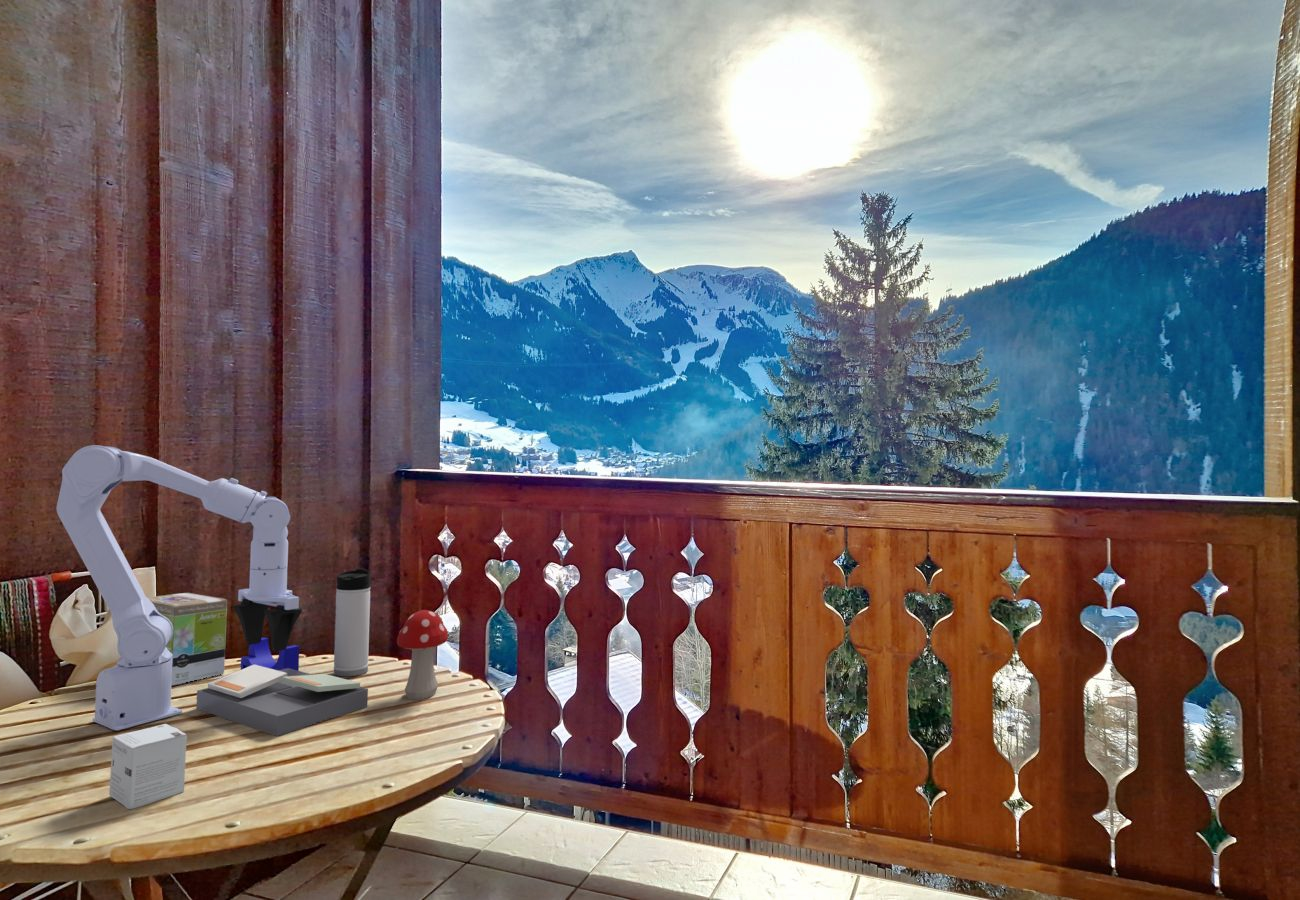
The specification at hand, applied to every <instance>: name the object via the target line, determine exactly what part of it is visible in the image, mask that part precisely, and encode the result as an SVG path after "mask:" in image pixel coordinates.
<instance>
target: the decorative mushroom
mask: <svg viewBox="0 0 1300 900" xmlns="http://www.w3.org/2000/svg"><path fill="white" fill-rule="evenodd" d="M400 629H401V628H400ZM448 639H449V631H448V629H447V627H446V626H445V624H444V623H443V621H442V619H441V617H440V616H439V615H438V613H435V612H434V611H433V610H428V609H422V610H419V611H416V612H414V613H412V614H411V615H410V616H409V617H408V619H407V620H406V621H405V623H404V625H403V627H402V629H401V630H400V631H399V632H398V634H397V637H396V645H397V646H398V647H400V648H403V649H406V650H411V651H412V652H411V661H410V669H409V675H408V681H407V682H406V685H405V688H404V692H405V695H406V698H407V699H408V698H409V700H412V699H413V701H414V699H420V700H424V698H425V699H428V697H429V698H431V697H433V696H435V695H436V693H437V690H438V686H439V683H438V679H437V678H436V673H435V667H434V666H435V665H434V648H437V647H438V646H441V645H443V644H445V643H447V642H448Z"/></svg>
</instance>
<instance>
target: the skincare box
mask: <svg viewBox="0 0 1300 900" xmlns="http://www.w3.org/2000/svg"><path fill="white" fill-rule="evenodd" d="M187 736H188V735H187V734H186V733H185V732H183V731H181V730H180V729H179V728H177V727H175V726H171V725H169V724H167V723H163V724H159V725H155V726H150V727H147V728H143V729H139V730H134V731H130V732H126V733H122V734H118V735H114V736H112V738H111V739H112V743H111V761H110V775H109V777H110V778H109V797H110V798H112V799H115V801H117V802H118V803H119V804H121V805H123V806H124V807H125V809H127V810H134V809H136V808H140V807H142V806H146V805H149V804H151V803H155V802H157V801H161V800H163V799H167V798H169V797H173V796H175V795H179V794H182V793H184V792H185V774H186V760H187V759H186V756H187V755H186V754H187V738H188V737H187Z"/></svg>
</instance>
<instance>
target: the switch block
mask: <svg viewBox="0 0 1300 900" xmlns="http://www.w3.org/2000/svg"><path fill="white" fill-rule="evenodd" d="M278 671H281V672H285V673H287V676H302V675H314V674H311V673H308V672H306V671H305V672H304V671H302V670H301V671H300V670H299V671H297V670H293V669H289V668H286V669H282V670H278ZM281 681H282V680H281ZM281 681H279V682H277V683H274V684H272V685H270V686H268V687H265V688H263V689H261V690H259V691H256V692H254V693H252V694H250V695H247V696H245V697H243V698H238V697H235V696H232V695H229V694H226V693H222V692H219V691H216V690H213V689H209V688H208V687H206V688H202V689H197V690H196V704H195V705H196V707H195V708H196V710H199V711H201V712H202V711H203V712H205V713H208V714H211V715H212V716H216V717H220V718H222V719H225V720H229V721H231V722H235V723H237V724H239V725H240V724H241V725H243V726H246V727H249V728H252V729H255V730H257V731H260V732H264V733H267V734H269V735H271V736H272V735H273V736H275V737H280V736H282V734H283V735H286V734H289V733H292V732H295V731H298V730H300V728H301V729H304V728H307V727H309V725H310V726H313V725H315V724H314V723H316V724H318V723H317V722H319V723H321V722H320V721H322V722H324V721H323V720H325V721H327V720H326V719H328V720H330V719H329V718H331V719H334V718H337V717H340V716H343V715H346V714H349V713H352V712H355V711H359V710H361V709H365V708H367V707H368V705H369V704H368V703H369V702H368V700H369V698H368V697H369V696H368V695H369V689H368V688H366V687H362V686H360V688H353V689H343V690H332V691H321V692H316V691H313V690H309V689H305V688H302V687H298V686H295V685H291V684H287V683H284V682H281ZM333 717H334V718H333ZM312 724H313V725H312ZM306 726H307V727H306ZM297 729H298V730H297ZM285 733H286V734H285ZM279 735H280V736H279Z"/></svg>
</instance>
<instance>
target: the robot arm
mask: <svg viewBox="0 0 1300 900" xmlns="http://www.w3.org/2000/svg"><path fill="white" fill-rule="evenodd" d="M61 469H62V470H61V471H62V472H61V473H62V479H61V480H62V481H61V485H60V489H59V493H58V498H57V499H58V500H57V504H56V509H55V510H56V513H57V515H58V518H59V519H60V521H61V523H62V525H63V527H64V529H65V530H66V532H67V534H68V536H69V537H70V540H71V542H72V543H73V545H74V547H75V549H76V551H77V552H78V555H79V557H80V558H81V560H82V561H83V564H84V566H85V567H86V569H87V571H88V572H89V574H90V576H91V578H92V580H93V582H94V584H95V586H96V589H97V590H98V592H99V593H100V595H101V597H102V599H103V600H104V602H105V605H106V606H107V609H109V611H110V614H111V620H112V621H111V622H112V627H113V629H114V631H115V634H116V635H117V647H116V649H117V653H118V655H119V657H118V660H117V664H116V665H113V666H111V667H109V668H104V669H102V670H101V671H99V673H98V675H97V678H96V684H95V700H94V701H95V702H94V703H95V705H94V707H95V708H94V717H93V718H92V722H94V723H97V724H99V725H101V726H104V727H106V728H108V729H111V730H114V731H121V730H124V729H129V728H132V727H136V726H139V725H140V726H141V725H143V724H147V723H150V722H151V723H152V722H155V721H158V720H161V719H166V718H169V717H173V716H176V715H181V714H182V713H183V710H182V709H180V708H177V707H175V706H172V686H171V685H172V657H173V654H172V653H170V652H169V651H168V649H167V648H166V645H167V644H168V643H169V641H170V640H171V638H172V635H173V626H172V623H171V622H170V620H169V619H168V618H166V617H165V616H163V615H161V614H160V613H159V612H158V611H157V610H156V608H155V606H154V604H153V603H152V602H151V601H150V600H149V599H148V598H147V597H148V596H146V595H145V592H144V590H143V588H142V586H141V585H140V583H139V581H138V579H137V577H136V575H135V574H134V571H133V570H132V568H131V565H130V564H129V562H128V560H127V558H126V556H125V553H123V551H122V549H121V547H120V545H119V543H118V541H117V540H116V537H115V535H114V534H113V531H112V530H111V528H110V526H109V524H108V522H107V520H106V519H105V517H104V514H103V513H102V511H101V508H102V507H103V504H104V503H105V502H106V500H107V499H108V497H109V495H110V493H111V491H112V490H113V489H114V488H115V487H117V486H118V485H119V484H120V483H122V482H135V481H149V482H151V483H154V484H157V485H160V486H163V487H166V488H169V489H171V490H175V491H178V492H181V493H184V494H187V495H190V496H192V497H195V498H198V499H200V500H201V502H202V505H203V508H204V509H205V510H207V511H209V512H212V513H215V514H218V515H220V516H223V517H225V518H228V519H231V520H234V521H236V522H239V523H242V524H246V523H251V525H252V526H253V529H252V531H253V532H252V539H251V540H252V541H250V560H249V561H250V563H249V588H243V589H242V588H241V589H238V595H237V597H238V598H237V602H238V601H239V602H240V603H239V604H234V605H233V611H234V612H235V613H236V615H237V617H238V620H239V622H240V624H241V628H242V631H243V636H244V640H245V642H246V643H245V644H246V645H247V646H249V645H252V644H257V643H260V641H261V638H263V630H264V623H265V618H266V619H267V623H268V624H269V625H268V626H269V631H270V644H271V650H272V652H280V650H285V649H286V648H287V647H288V644H289V642H290V637H291V634H292V632H293V628H294V627H295V624H296V623H297V620H298V619H299V617H300V615H301V614H302V612H303V608H302V607H300V606H299V605H300V598H299V596H296V595H293V590H290V589H288V587H287V586H288V563H289V562H288V560H289V541H288V539H287V537H288V535H289V530H288V527H287V526H288V524H289V523H290V520H291V515H290V511H289V508H288V506H287V504H286V503H285V502H284V501H282V500H281V499H279V498H277V497H276V496H267V495H268V492H267V491H265V490H261V491H260V492H259V491H257V490H254V489H251V488H249V487H246V486H245V485H242V484H238V483H239V480H238V479H236V478H233V477H231V478H229V480H228V479H226V478H221V477H220V478H218V479H216V480H211V481H208V480H206V479H204V478H201V477H200V476H197V475H195V474H193V473H189V472H188V471H185V470H182V469H180V468H178V467H175V466H173V465H170V464H167V463H166V462H164V461H161V460H158V459H156V458H153V457H151V456H148V455H144V454H139V453H135V452H131V451H124V450H121V449H120V448H117V447H114V446H104V445H97V444H93V445H87V446H84V447H82V448H80V449H78V450H77V451H75V452H74V453H73V455H72V456H71V457H70V458H69V460H68V461H67V462H66V463H65V465H64V466H63V468H61ZM270 606H271V607H275V608H272V609H269V607H270Z"/></svg>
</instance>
